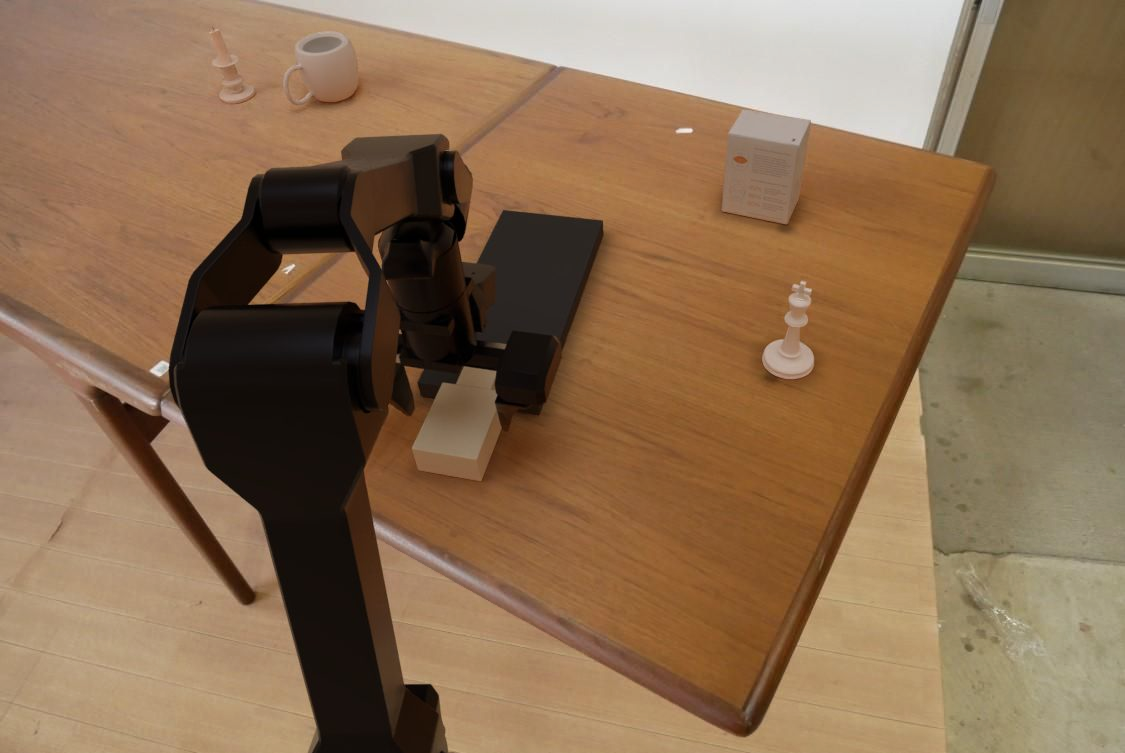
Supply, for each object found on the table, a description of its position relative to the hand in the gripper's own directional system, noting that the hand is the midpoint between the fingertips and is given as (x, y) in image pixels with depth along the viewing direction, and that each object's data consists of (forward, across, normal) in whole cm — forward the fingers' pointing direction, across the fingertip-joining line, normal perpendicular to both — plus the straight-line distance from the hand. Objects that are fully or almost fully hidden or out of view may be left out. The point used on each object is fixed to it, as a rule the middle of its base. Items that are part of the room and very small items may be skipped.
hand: (459, 420), depth 75 cm
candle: (+3, +55, -56) cm, 78 cm away
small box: (+3, -23, -41) cm, 47 cm away
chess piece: (+3, -28, -16) cm, 32 cm away
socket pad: (+3, 0, -18) cm, 19 cm away
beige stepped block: (+3, 0, -2) cm, 3 cm away
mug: (+3, +41, -57) cm, 70 cm away
